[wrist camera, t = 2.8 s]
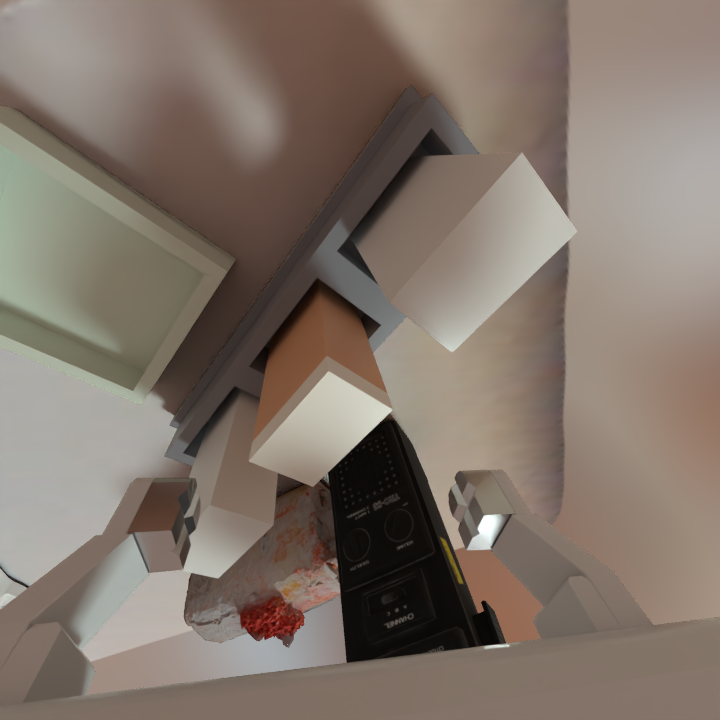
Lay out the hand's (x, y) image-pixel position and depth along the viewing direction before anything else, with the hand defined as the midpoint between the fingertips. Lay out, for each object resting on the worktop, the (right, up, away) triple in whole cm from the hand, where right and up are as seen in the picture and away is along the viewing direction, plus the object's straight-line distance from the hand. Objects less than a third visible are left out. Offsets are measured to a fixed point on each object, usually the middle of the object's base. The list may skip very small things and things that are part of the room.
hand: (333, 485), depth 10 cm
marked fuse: (-2, +6, +10) cm, 12 cm away
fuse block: (-2, +7, +11) cm, 13 cm away
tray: (-14, +9, +8) cm, 18 cm away
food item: (-7, -11, +22) cm, 26 cm away
